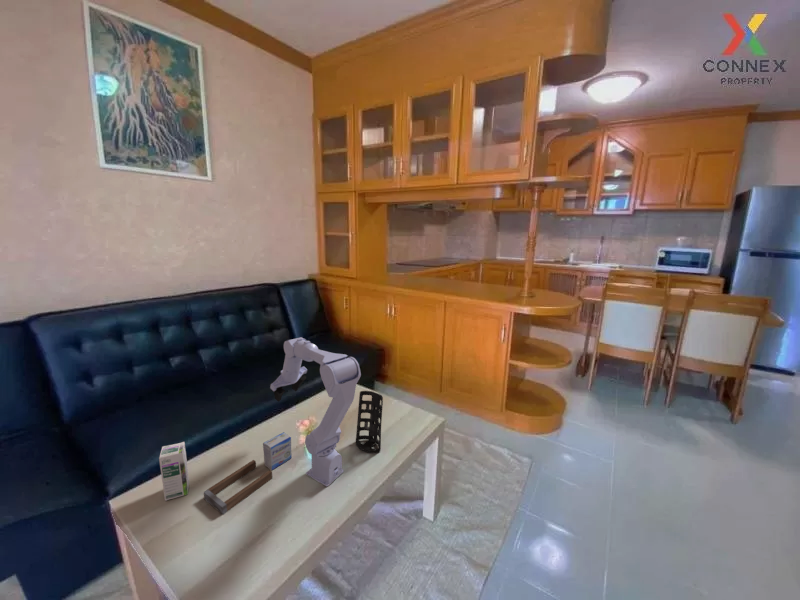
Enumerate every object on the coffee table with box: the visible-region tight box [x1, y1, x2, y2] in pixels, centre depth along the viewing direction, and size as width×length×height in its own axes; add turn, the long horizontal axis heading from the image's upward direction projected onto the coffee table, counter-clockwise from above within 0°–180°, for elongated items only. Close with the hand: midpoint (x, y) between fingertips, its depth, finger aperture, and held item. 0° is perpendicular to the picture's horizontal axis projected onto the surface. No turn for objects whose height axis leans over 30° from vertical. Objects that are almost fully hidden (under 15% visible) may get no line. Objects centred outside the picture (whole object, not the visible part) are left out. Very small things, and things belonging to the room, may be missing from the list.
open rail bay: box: [203, 459, 273, 515], centre depth 100 cm, size 9×16×2 cm, turn 148°
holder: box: [355, 390, 384, 454], centre depth 121 cm, size 11×8×20 cm
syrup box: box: [158, 441, 190, 502], centre depth 97 cm, size 6×6×14 cm
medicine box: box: [262, 431, 293, 471], centre depth 112 cm, size 8×4×9 cm, turn 143°
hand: (286, 394), depth 121 cm, fingers open, 7 cm apart
